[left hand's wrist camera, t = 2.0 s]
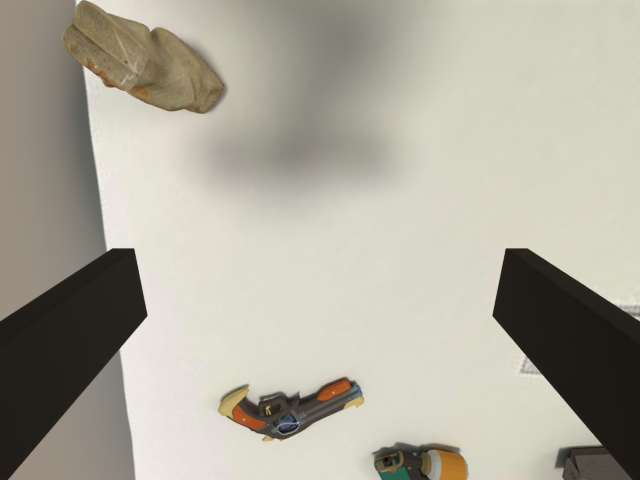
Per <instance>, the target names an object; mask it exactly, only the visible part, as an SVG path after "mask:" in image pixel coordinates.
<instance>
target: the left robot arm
mask: <svg viewBox="0 0 640 480" xmlns="http://www.w3.org/2000/svg"><path fill="white" fill-rule="evenodd" d="M147 316H148V315H147V310H146V305H145V300H144V295H143V290H142V285H141V280H140V275H139V270H138V265H137V260H136V255H135V250H134V248H112V249H111V250H109V251H108V252H106V253H105V254H103V255H102V256H100V257H99V258H97V259H96V260H94V261H92V262H91V263H89V264H88V265H86V266H85V267H83V268H82V269H80V270H79V271H77V272H75V273H74V274H72V275H71V276H69V277H68V278H66V279H65V280H63V281H62V282H60V283H59V284H57V285H55V286H54V287H52V288H51V289H49V290H48V291H46V292H45V293H43V294H42V295H40V296H39V297H37V298H36V299H34V300H33V301H31V302H29V303H28V304H26V305H25V306H23V307H22V308H20V309H19V310H17V311H15V312H14V313H12V314H11V315H9V316H8V317H6V318H5V319H3V320H2V321H0V480H8V479H9V478H10V477H11V476H12V474H13V473H14V472H15V471H16V470H17V468H18V467H19V466H20V465H21V464H22V463H23V461H24V460H25V459H26V458H27V457H28V456H29V454H30V453H31V452H32V451H33V450H34V449H35V447H36V446H37V445H38V444H39V443H40V441H41V440H42V439H43V438H44V437H45V436H46V434H47V433H48V432H49V431H50V430H51V429H52V427H53V426H54V425H55V424H56V423H57V422H58V420H59V419H60V418H61V417H62V416H63V415H64V413H65V412H66V411H67V410H68V409H69V407H70V406H71V405H72V404H73V403H74V402H75V400H76V399H77V398H78V397H79V396H80V395H81V393H82V392H83V391H84V390H85V389H86V387H87V386H88V385H89V384H90V383H91V382H92V380H93V379H94V378H95V377H96V376H97V375H98V373H99V372H100V371H101V370H102V369H103V368H104V366H105V365H106V364H107V363H108V362H109V360H110V359H111V358H112V357H113V356H114V355H115V353H116V352H117V351H118V350H119V349H120V348H121V346H122V345H123V344H124V343H125V342H126V341H127V339H128V338H129V337H130V336H131V335H132V334H133V332H134V331H135V330H136V329H137V328H138V327H139V325H140V324H141V323H142V322H143V321H144V319H145V318H146V317H147ZM492 316H493V317H494V318H495V319H496V321H497V322H498V323H499V324H500V325H501V327H502V328H503V329H504V330H505V331H506V332H507V334H508V335H509V336H510V337H511V338H512V339H513V341H514V342H515V343H516V344H517V345H518V346H519V348H520V349H521V350H522V351H523V352H524V354H525V355H526V356H527V357H528V358H529V359H530V361H531V362H532V363H533V364H534V365H535V366H536V368H537V369H538V370H539V371H540V372H541V373H542V375H543V376H544V377H545V378H546V379H547V380H548V382H549V383H550V384H551V385H552V386H553V388H554V389H555V390H556V391H557V392H558V393H559V395H560V396H561V397H562V398H563V399H564V400H565V402H566V403H567V404H568V405H569V406H570V407H571V409H572V410H573V411H574V412H575V413H576V415H577V416H578V417H579V418H580V419H581V420H582V422H583V423H584V424H585V425H586V426H587V427H588V429H589V430H590V431H591V432H592V433H593V434H594V436H595V437H596V438H597V439H598V440H599V442H600V443H601V444H602V445H603V446H604V447H605V449H606V450H607V451H608V452H609V453H610V454H611V456H612V457H613V458H614V459H615V460H616V461H617V463H618V464H619V465H620V466H621V467H622V468H623V470H624V471H625V472H626V473H627V474H628V476H629V477H630V478H631V479H632V480H640V321H638V320H637V319H635V318H634V317H632V316H631V315H629V314H628V313H626V312H625V311H623V310H621V309H620V308H618V307H617V306H615V305H614V304H612V303H611V302H609V301H608V300H606V299H605V298H603V297H601V296H600V295H598V294H597V293H595V292H594V291H592V290H591V289H589V288H588V287H586V286H585V285H583V284H581V283H580V282H578V281H577V280H575V279H574V278H572V277H571V276H569V275H568V274H566V273H565V272H563V271H561V270H560V269H558V268H557V267H555V266H554V265H552V264H551V263H549V262H548V261H546V260H545V259H543V258H541V257H540V256H538V255H537V254H535V253H534V252H532V251H531V250H529V249H528V248H506V250H505V255H504V260H503V265H502V270H501V275H500V280H499V285H498V290H497V295H496V300H495V305H494V310H493V315H492Z"/></svg>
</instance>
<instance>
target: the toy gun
mask: <svg viewBox="0 0 640 480" xmlns="http://www.w3.org/2000/svg"><path fill="white" fill-rule="evenodd" d="M247 392H248V389H247V388H243V389H241V390H238V391H236V392H234V393H232V394H230V395H229V396H227V397H226V398H225V399H224V400H223V401H222V403H221V404H220V406H219V409H218V412H219V413H220V414H221V415H223V416H227V417H228V418H229V419H231V420H232V421H234V422H236V423H238V424H240V425H243V426H245V427H247V428H249V429H250V430H251V431H254V432H256V433H259V434H264V435H265V436H266V437H265V438H263V439H262V441H263V442H265V441H269V440H273V439H274V438H276V439H280V441H283V440H284V439H287V438H289V437H291V436H293V435H295V434H297V433H299V432H301V431H303V430H305V429H306V428H307V427H309V426H310V425H311V424H313V423H315V422H316V421H319V420H321V419H323V418H325V417H327V416H329V415H332V414H334V413H336V412H338V411H341V410H344V409H346V408H348V407H350V406H353V405H355V406H356V407H358V406H360V405H361V404H363V403H364V398H363V396H362V392H361V390H360V389H358V386H357V384H356V383H355V384H350V383H349V381H348V380H347V379H344V380H342V381H339V382H337V383H335V384H333V385H330V386H328V387H326V388H324V389H323V390H322V391H321V392H320V393H319V394H318V396H317V397H316V398H314V399H312V400H309V401H307V402H304V403H299V397H300V395H298V396H297V397H296V398H295V399H294V400H293V401H291V402H290V403H288V402H287V401H286V399H285V398H284V397H282V396H277V397H275V398H273V399H270V400H265V401H260V402H259V404H258V407H259V409H260V412H258V411H256V410H254V409H253V408H251V407H250V406H249V405H248V404H247V403H246V401H245V398H244V397H245V395H246V394H247ZM276 403H279V404H280V406H281V407H280V408H278V409H276V410H274V411H272V412H270V410H269V408H270V407H271V405H274V404H276ZM263 407H266V413H265V411H264V410H263ZM267 410H268V412H267ZM280 418H282V419H281V420H280V422H279V423H278V419H280ZM276 420H277V422H275V421H276ZM297 422H300V423H299V424H298V425H296V424H297ZM277 423H278V424H277ZM280 429H281V430H280Z"/></svg>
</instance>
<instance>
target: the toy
mask: <svg viewBox="0 0 640 480" xmlns="http://www.w3.org/2000/svg"><path fill="white" fill-rule="evenodd" d="M562 477H563V479H564V480H632V479H631V478H630V477H629V476H628V474H627V473H626V472H625V471H624V470H623V468H622V467H621V466H620V465H619V464H618V463H617V461H616V460H615V459H614V458H613V457H612V456H611V454H610V453H609V452H608V451H607V450H606V449H605V448H586V449H573V450H572V452H571V456H570V459H569V458H567V459H566V463H565V467H564V471H563V475H562Z"/></svg>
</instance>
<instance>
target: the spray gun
mask: <svg viewBox="0 0 640 480" xmlns="http://www.w3.org/2000/svg"><path fill="white" fill-rule="evenodd" d="M395 456H399V458H398V457H395ZM393 457H394V459H393ZM379 460H383V461H382V462H379V463H378V464H377V461H379ZM374 466H375V469H376V470H377V471H378V473H379V475H380V477H381V479H382V480H467V479H468V466H467V463H466V461H465V459H464V458H463V457H462V456H461V455H460V454H456V453H451V452H446V451H440V450H429V451H428V452H427V453H422V454H421V457H418V456H415V455H411V454H407V453H402V452H401V451H397V453H395V454H391V455H387V456H383V457H379V458H376V459H375V461H374ZM419 468H420V469H421V471H420V470H419Z"/></svg>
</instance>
